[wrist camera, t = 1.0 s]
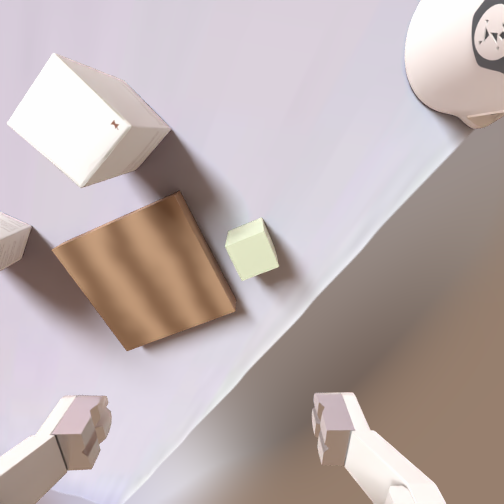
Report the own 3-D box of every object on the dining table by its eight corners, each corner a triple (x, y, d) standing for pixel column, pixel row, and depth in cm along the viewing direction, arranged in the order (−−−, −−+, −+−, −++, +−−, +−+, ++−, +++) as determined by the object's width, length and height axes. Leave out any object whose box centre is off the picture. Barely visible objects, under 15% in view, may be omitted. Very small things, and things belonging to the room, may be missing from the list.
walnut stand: (179, 190, 38) (174, 195, 35) (236, 300, 44) (235, 311, 41) (65, 241, 40) (51, 249, 37) (134, 338, 46) (126, 351, 44)
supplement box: (123, 78, 33) (53, 46, 21) (173, 129, 35) (134, 127, 23) (85, 126, 35) (1, 122, 23) (134, 172, 37) (81, 190, 25)
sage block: (261, 217, 39) (263, 231, 34) (275, 248, 41) (279, 266, 35) (228, 231, 40) (224, 246, 34) (242, 261, 42) (241, 281, 36)
